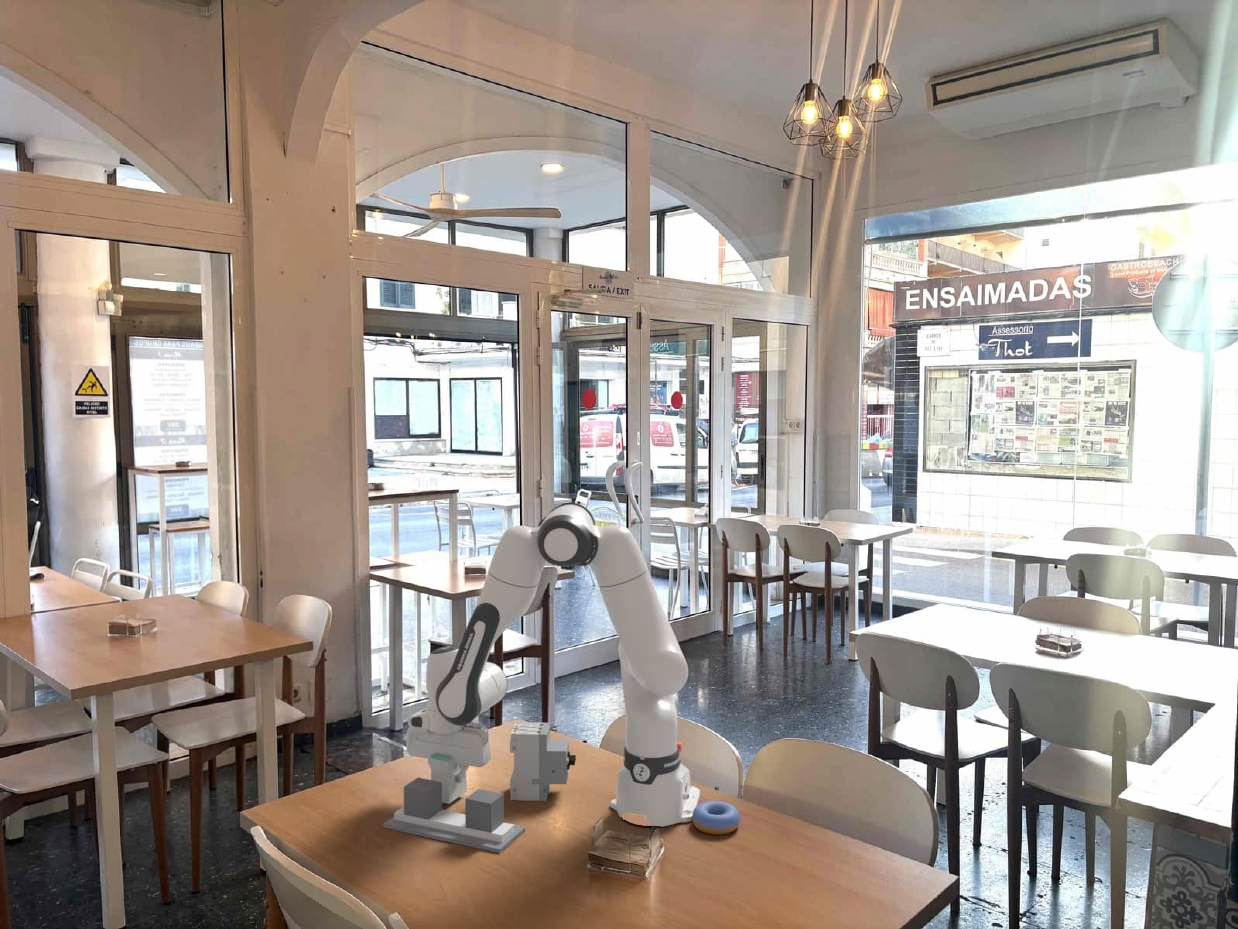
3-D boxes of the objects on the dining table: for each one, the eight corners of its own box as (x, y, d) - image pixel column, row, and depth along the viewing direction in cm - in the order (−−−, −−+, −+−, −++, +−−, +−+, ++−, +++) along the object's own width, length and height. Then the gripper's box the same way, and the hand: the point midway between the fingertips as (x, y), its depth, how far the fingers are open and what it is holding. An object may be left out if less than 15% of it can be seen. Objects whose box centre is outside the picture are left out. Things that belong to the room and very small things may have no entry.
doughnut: (735, 839, 179) (734, 816, 180) (687, 834, 182) (686, 811, 183) (744, 823, 189) (743, 801, 189) (698, 818, 192) (698, 797, 192)
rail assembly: (411, 808, 194) (411, 770, 193) (524, 831, 183) (524, 792, 183) (382, 827, 185) (382, 788, 184) (500, 853, 174) (499, 811, 173)
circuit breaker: (574, 801, 198) (574, 734, 197) (510, 800, 198) (509, 734, 197) (576, 786, 205) (576, 723, 204) (514, 786, 205) (514, 722, 205)
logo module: (431, 800, 195) (430, 756, 195) (449, 788, 202) (448, 745, 201) (448, 804, 194) (447, 758, 193) (466, 791, 200) (465, 747, 199)
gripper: (495, 719, 195) (496, 781, 196) (418, 708, 204) (419, 768, 204) (480, 729, 190) (481, 792, 190) (401, 717, 198) (402, 778, 199)
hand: (448, 779), depth 197 cm, fingers closed on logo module, 4 cm apart
